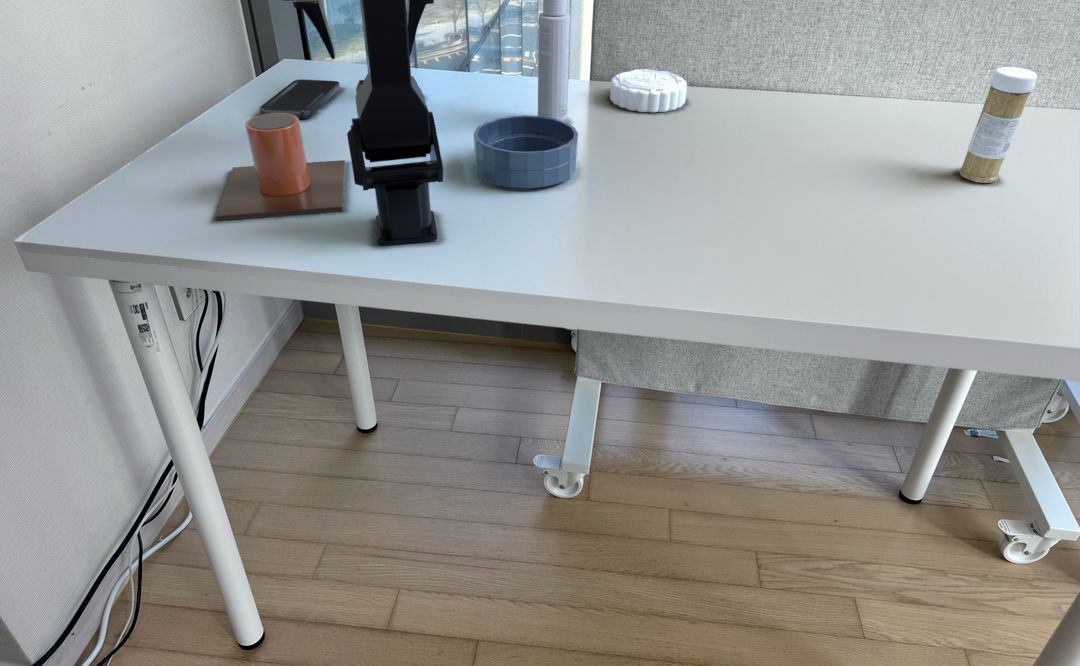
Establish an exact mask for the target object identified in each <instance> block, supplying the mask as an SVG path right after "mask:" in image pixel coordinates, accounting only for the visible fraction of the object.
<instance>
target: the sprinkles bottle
mask: <svg viewBox="0 0 1080 666" xmlns="http://www.w3.org/2000/svg"><path fill="white" fill-rule="evenodd" d="M1037 79H1038V74H1037V73H1036V72H1034V71H1032V70H1030V69H1027V68H1022V67H1015V66H1002V67H998V68H996V69H995V70H994V72H993V74H992V77H991V79H990V83H989V85H990V86H989V91H988V93H987V95H986V99H985V101H984V104H983V107H982V110H981V112H980V115H979V117H978V120H977V123H976V125H975V127H974V131H973V133H972V136H971V138H970V141H969V144H968V147H967V152H966V154H965V157H964V160H963V163H962V165H961V167H960V168H959V170H958V171H959V175H960V177H962V178H965V179H966V180H968V181H971V182H975V183H980V184H989V183H994V182H996V181H997V180H998V178H999V172H1000V170H1001V168H1002V165H1003V163H1004V160H1005V158H1006V157H1007V155H1008V152H1009V148H1010V147H1011V144H1012V142H1013V139H1014V137H1015V134H1016V131H1017V129H1018V127H1019V123H1020V121H1021V118H1022V115H1023V111H1024V109H1025V106H1026V103H1027V101H1028V99H1029V96H1030V95H1031V93H1032V92H1033V90H1034V88H1035V86H1036V82H1037Z"/></svg>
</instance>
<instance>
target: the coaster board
mask: <svg viewBox="0 0 1080 666" xmlns="http://www.w3.org/2000/svg"><path fill="white" fill-rule="evenodd" d="M307 166H308V171H309V177H310V186H309V187H308V188H307V189H306V190H304V191H302V192H300V193H297V194H293V195H287V196H271V195H267V194H264V193H262V192H261V191H260V189H259V185H258V180H257V176H256V171H255V167H254V165H249V166H235V167H234V166H233V167H232V169H231V171H230V175H229V177H228V180H227V183H226V186H225V188H224V190H223V194H222V197H221V200H220V202H219V206H218V207H217V212H216V215H215V219H216V221H228V220H229V221H231V220H243V219H244V220H245V219H256V218H269V217H283V216H284V217H285V216H296V215H297V216H298V215H307V214H308V215H310V214H325V213H336V212H337V213H338V212H344V203H345V202H344V201H345V200H344V199H345V182H346V181H345V180H346V179H345V177H346V160H345V159H341V160H327V161H325V160H324V161H310V162H307Z"/></svg>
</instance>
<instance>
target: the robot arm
mask: <svg viewBox="0 0 1080 666" xmlns="http://www.w3.org/2000/svg"><path fill="white" fill-rule="evenodd" d="M283 1H286V2H290V1H293V2H292V6H293V8H294V9H302V10H303V12H304V13H305V15H306V16H307V18H308V19H309V20H310V22H311V23H312V25H313V26H314V28H315V30H316V31H317V33H318V35H319V37H320V39H321V41H322V43H323V45H324V47H325V49H326V51H327V53H328V54H329V57H330V58H331V60H336V52H335V45H334V44H335V43H334V40H333V37H332V33H331V28H330V25H329V21H328V18H327V14H326V10H325V6H324V1H323V0H283ZM359 3H360V4H359V5H360V11H361V13H360V14H361V23H362V31H363V40H364V49H365V57H366V66H367V74H366V75H365V78H364V79H359V80H358V82H357V85H356V87H355V91H356V93H355V98H354V99H355V106H356V107H355V108H356V115H357V117H353V118H352V117H351V125H350V129H349V130H348V132H347V133H346V136H347V137H346V138H347V143H348V148H349V155H350V161H351V167H352V175H353V181H354V185H357V186H359V187H362V191H369V190H374V193H375V201H376V208H377V209H376V210H377V214H376V215H375V233H376V234H375V235H376V236H375V237H376V244H377V245H380V246H383V245H384V246H385V245H394V244H395V245H396V244H405V243H407V244H408V243H419V242H430V241H437V240H438V239H439V238H438V237H439V236H438V230H437V225H436V224H437V223H436V218H435V213H434V211H433V210H432V209H431V197H430V196H431V195H430V186H429V185H430V184H429V183H444V165H443V160H442V154H441V149H440V144H439V138H438V133H437V132H438V131H437V127H436V122H435V117H434V114H433V112H432V111H430V110H429V108H428V105H427V102H426V99H425V97H424V94H423V91H422V89H421V88H420V85H418V82H417V81H416V78H415V76H412V71H411V70H412V69H411V55H412V52H413V48H414V43H415V38H416V34H417V30H418V27H419V25H420V21H421V19H422V16H423V13H424V10H425V8H426V6H427V5H432V4H435V0H407V8H406V0H359ZM427 155H429V159H430V160H423V161H416V162H405V163H393V164H385V165H375V166H367V167H366V163H365V160H366V161H369V163H370V164H371V163H380V162H389V161H390V162H391V161H399V160H409V159H419V158H426V157H427Z"/></svg>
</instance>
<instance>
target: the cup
mask: <svg viewBox="0 0 1080 666" xmlns="http://www.w3.org/2000/svg"><path fill="white" fill-rule="evenodd" d="M244 126H245V132H246V135H247V140H248V144H249V149H250V153H251V157H252V163H253V166H254V167H255V171H256V176H257V180H258V185H259V189H260V191H261V192H262V193H264V194H267V195H271V196H287V195H293V194H297V193H300V192H302V191H304V190H306V189H307V188H308V187H309V186H310V177H309V171H308V166H307V163H308V161H307V156H306V149H305V145H304V139H303V133H302V128H301V122H300V119H299V118H298V117H297V116H295V115H292V114H287V113H270V114H263V115H261V114H260V115H256V116H254V117H251V118H249V119H247V120H246V121H245V123H244Z"/></svg>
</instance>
